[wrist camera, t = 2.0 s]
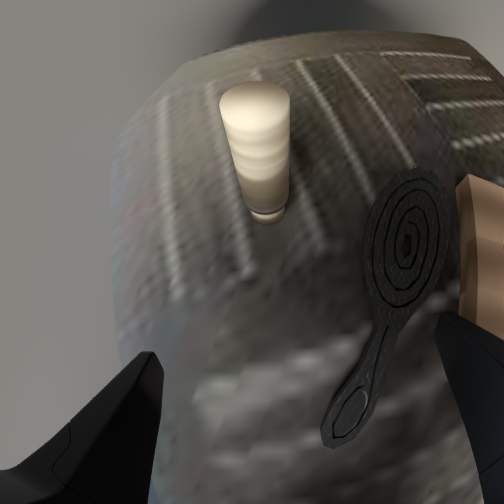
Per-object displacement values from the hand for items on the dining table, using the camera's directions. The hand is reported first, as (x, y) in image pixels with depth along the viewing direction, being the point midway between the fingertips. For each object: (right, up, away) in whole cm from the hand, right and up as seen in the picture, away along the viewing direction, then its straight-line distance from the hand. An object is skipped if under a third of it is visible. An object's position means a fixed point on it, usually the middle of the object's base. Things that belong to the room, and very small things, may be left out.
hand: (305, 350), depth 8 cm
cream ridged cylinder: (0, +6, +17) cm, 18 cm away
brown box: (+24, 0, +12) cm, 27 cm away
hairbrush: (+10, -2, +14) cm, 17 cm away
